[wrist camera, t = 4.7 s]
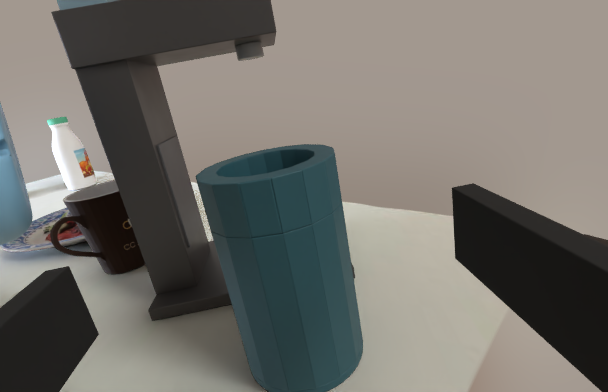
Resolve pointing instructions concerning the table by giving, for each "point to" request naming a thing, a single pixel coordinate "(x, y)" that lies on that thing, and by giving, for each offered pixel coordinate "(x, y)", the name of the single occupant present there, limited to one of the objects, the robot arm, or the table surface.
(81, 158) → the milk bottle
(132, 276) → the table surface
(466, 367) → the table surface
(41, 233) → the ceramic plate
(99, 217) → the coffee mug
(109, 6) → the coffee maker
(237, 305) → the teal tumbler
